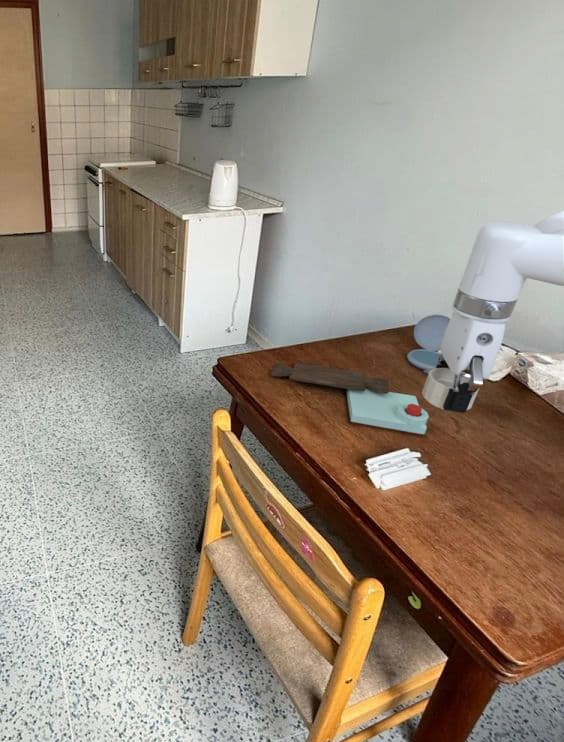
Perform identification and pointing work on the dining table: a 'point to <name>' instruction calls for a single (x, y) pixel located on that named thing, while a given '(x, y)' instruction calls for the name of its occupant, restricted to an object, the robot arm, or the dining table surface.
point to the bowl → (441, 386)
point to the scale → (385, 410)
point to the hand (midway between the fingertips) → (447, 396)
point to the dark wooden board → (331, 377)
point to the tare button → (413, 410)
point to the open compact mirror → (428, 341)
